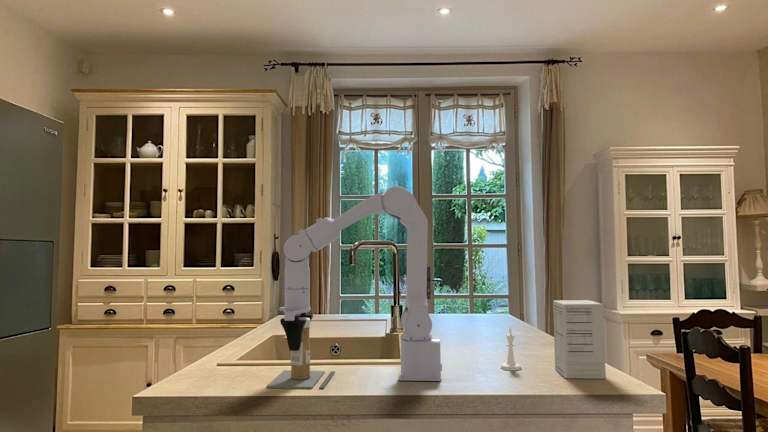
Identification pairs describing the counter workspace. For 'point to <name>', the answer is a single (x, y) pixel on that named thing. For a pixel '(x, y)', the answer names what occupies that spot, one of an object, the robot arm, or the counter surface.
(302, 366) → the sprinkles bottle
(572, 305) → the supplement box
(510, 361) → the chess piece
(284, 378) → the mat
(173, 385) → the counter surface
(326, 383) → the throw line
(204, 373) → the counter surface
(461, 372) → the counter surface
